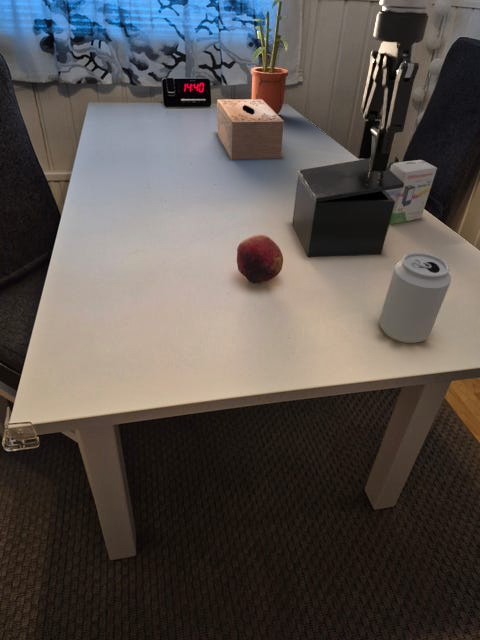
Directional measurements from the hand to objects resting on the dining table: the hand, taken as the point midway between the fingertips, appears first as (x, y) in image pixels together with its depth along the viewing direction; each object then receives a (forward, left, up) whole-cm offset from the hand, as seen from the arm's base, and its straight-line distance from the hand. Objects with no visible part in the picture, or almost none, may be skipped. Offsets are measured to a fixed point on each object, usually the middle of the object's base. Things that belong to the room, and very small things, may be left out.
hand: (371, 163), depth 81 cm
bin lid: (+4, +1, -3) cm, 5 cm away
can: (-5, +29, -15) cm, 33 cm away
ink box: (-11, -12, -15) cm, 22 cm away
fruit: (+18, +19, -15) cm, 30 cm away
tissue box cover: (+28, -56, -15) cm, 64 cm away
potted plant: (+27, -93, -15) cm, 98 cm away
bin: (+4, +1, -15) cm, 16 cm away
